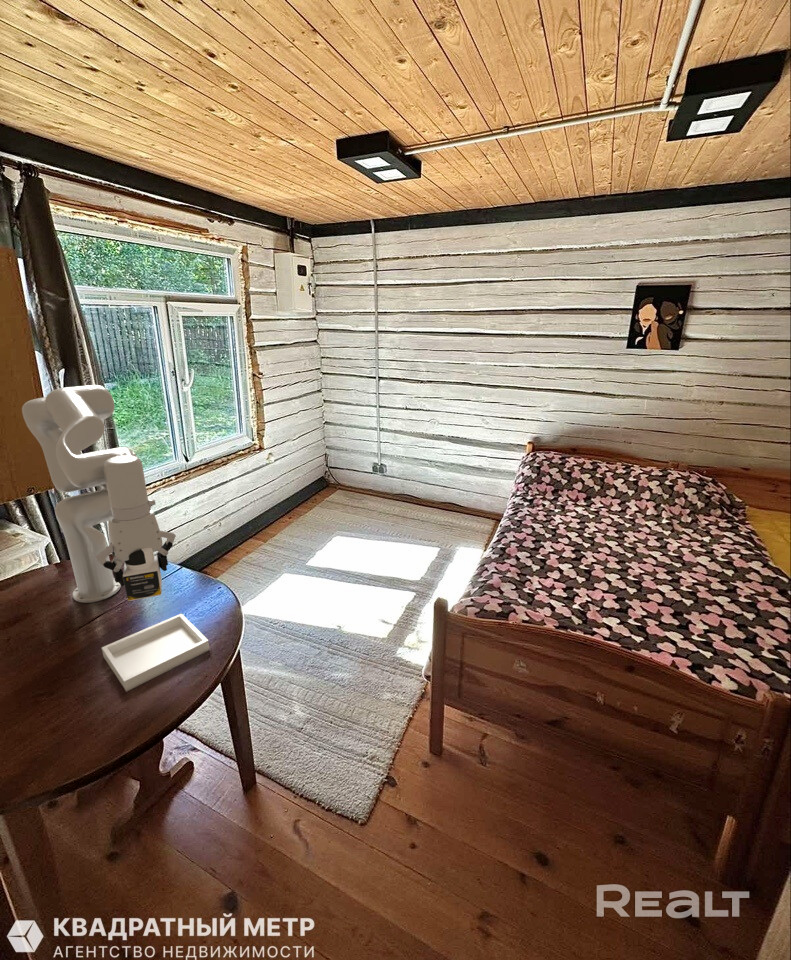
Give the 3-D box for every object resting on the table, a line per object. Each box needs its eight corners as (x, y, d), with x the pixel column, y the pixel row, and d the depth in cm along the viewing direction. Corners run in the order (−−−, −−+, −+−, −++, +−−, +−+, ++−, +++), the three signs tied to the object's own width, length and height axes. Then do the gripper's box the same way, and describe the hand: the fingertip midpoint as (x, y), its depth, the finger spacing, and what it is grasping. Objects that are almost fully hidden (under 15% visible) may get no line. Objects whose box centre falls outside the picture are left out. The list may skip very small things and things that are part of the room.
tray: (103, 657, 118) (101, 647, 117) (182, 622, 132) (181, 613, 131) (126, 691, 108) (124, 681, 107) (209, 649, 122) (208, 640, 121)
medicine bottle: (127, 602, 109) (118, 556, 104) (129, 586, 115) (121, 542, 110) (161, 595, 111) (154, 550, 107) (161, 580, 118) (154, 537, 113)
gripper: (163, 495, 115) (173, 557, 121) (82, 515, 103) (97, 583, 109) (176, 504, 110) (185, 568, 116) (92, 527, 98) (107, 597, 104)
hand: (142, 575), depth 112 cm, fingers closed on medicine bottle, 9 cm apart
